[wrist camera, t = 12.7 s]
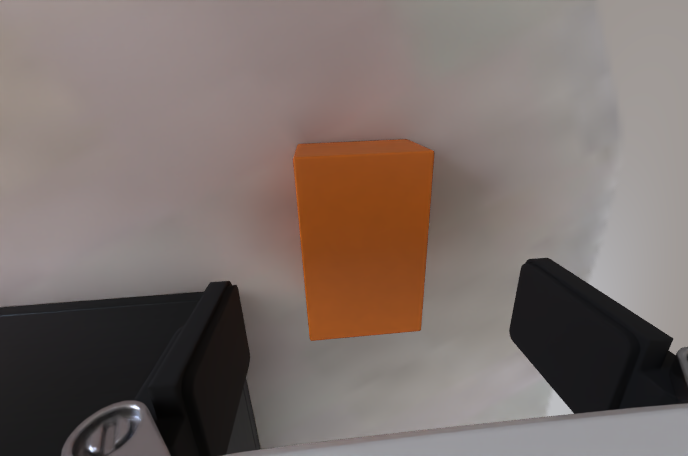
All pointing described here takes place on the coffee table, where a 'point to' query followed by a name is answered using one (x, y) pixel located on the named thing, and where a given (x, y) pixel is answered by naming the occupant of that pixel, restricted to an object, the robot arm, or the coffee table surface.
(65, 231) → the coffee table surface
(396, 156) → the orange block
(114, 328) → the bin
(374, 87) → the coffee table surface
